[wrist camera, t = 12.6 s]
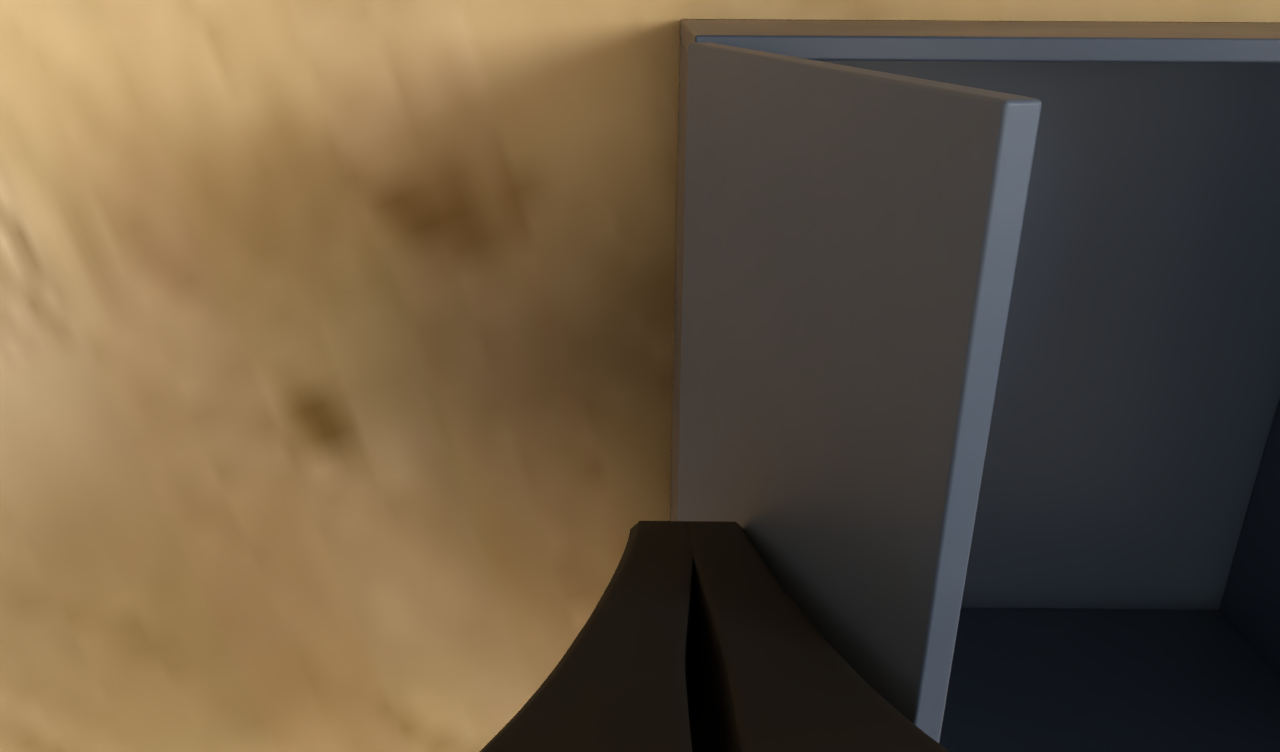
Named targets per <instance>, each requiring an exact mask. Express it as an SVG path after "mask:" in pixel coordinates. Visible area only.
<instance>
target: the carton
mask: <svg viewBox="0 0 1280 752" xmlns="http://www.w3.org/2000/svg"><path fill="white" fill-rule="evenodd" d="M691 42H711V43H717V44H722V45H728V46H734V47H740V48H746V49H752V50H757V51H763V52H769V53H775V54H781V55H787V56H792V57H798V58H804V59H810V60H816V61H822V62H827V63H833V64H839V65H845V66H851V67H857V68H862V69H868V70H874V71H880V72H886V73H891V74H897V75H903V76H909V77H915V78H921V79H926V80H932V81H938V82H944V83H950V84H956V85H961V86H967V87H973V88H979V89H985V90H991V91H996V92H1002V93H1008V94H1014V95H1020V96H1026V97H1031V98H1037V99H1039V100H1040V101H1041V103H1042V106H1041V112H1040V119H1039V125H1038V131H1037V137H1036V144H1035V150H1034V156H1033V162H1032V168H1031V175H1030V181H1029V187H1028V193H1027V200H1026V206H1025V212H1024V218H1023V224H1022V231H1021V237H1020V243H1019V249H1018V255H1017V262H1016V268H1015V274H1014V280H1013V287H1012V293H1011V299H1010V305H1009V311H1008V318H1007V324H1006V330H1005V336H1004V343H1003V349H1002V355H1001V361H1000V367H999V374H998V380H997V386H996V392H995V399H994V405H993V411H992V417H991V423H990V430H989V436H988V442H987V448H986V454H985V461H984V467H983V473H982V479H981V486H980V492H979V498H978V504H977V510H976V517H975V523H974V529H973V535H972V542H971V548H970V554H969V560H968V566H967V573H966V579H965V585H964V591H963V598H962V604H961V610H960V616H959V622H958V629H957V635H956V641H955V647H954V653H953V660H952V666H951V672H950V678H949V685H948V691H947V697H946V703H945V709H944V716H943V722H942V728H941V734H940V741H939V744H940V745H942V746H943V747H944V748H946V749H947V750H948V751H950V752H1280V23H1252V22H1087V21H923V20H758V19H681V21H680V61H679V111H678V160H677V209H676V258H675V308H674V357H673V406H672V455H671V504H670V521H677V506H678V463H679V421H680V378H681V336H682V294H683V251H684V209H685V166H686V124H687V81H688V45H689V43H691Z"/></svg>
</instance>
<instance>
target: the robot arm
mask: <svg viewBox="0 0 1280 752" xmlns="http://www.w3.org/2000/svg"><path fill="white" fill-rule="evenodd" d="M480 752H950V751H948V750H947V749H946V748H944V747H943V746H942V745H940V744H939V743H938V742H936V741H935V740H934V739H932V738H931V737H929V736H928V735H927V734H926V733H924V732H923V731H922V730H921V729H919V728H918V727H917V726H916V725H914V724H913V723H912V722H911V721H909V720H908V719H907V718H906V717H905V716H903V715H902V714H901V713H900V712H899V711H898V710H896V709H895V708H894V707H893V706H892V705H891V704H890V703H889V702H887V701H886V700H885V699H884V698H883V697H882V696H881V695H880V694H878V693H877V692H876V691H875V690H874V689H873V688H872V687H871V686H870V685H869V684H867V683H866V682H865V681H864V680H863V679H862V678H861V677H860V676H859V675H858V674H857V673H856V672H855V671H854V670H853V669H852V668H851V667H850V665H849V664H848V663H847V662H846V661H845V660H844V659H843V658H842V657H841V656H840V655H839V654H838V653H837V652H836V650H835V649H834V648H833V647H832V646H831V645H830V644H829V643H828V642H827V641H826V640H825V638H824V637H823V636H822V635H821V634H820V633H819V631H818V630H817V629H816V628H815V627H814V626H813V625H812V623H811V622H810V621H809V620H808V618H807V617H806V616H805V615H804V613H803V612H802V611H801V610H800V609H799V607H798V606H797V605H796V604H795V602H794V601H793V600H792V599H791V597H790V596H789V595H788V594H787V592H786V591H785V590H784V588H783V587H782V586H781V584H780V583H779V582H778V580H777V579H776V577H775V576H774V575H773V573H772V572H771V570H770V569H769V568H768V566H767V565H766V563H765V562H764V560H763V559H762V558H761V556H760V555H759V553H758V552H757V550H756V548H755V547H754V545H753V544H752V542H751V541H750V539H749V537H748V536H747V534H746V532H745V531H744V529H743V528H742V527H741V526H740V525H739V524H738V523H737V522H731V521H639V522H638V523H637V524H636V525H635V526H633V527H632V528H631V529H630V535H629V539H628V542H627V545H626V548H625V550H624V553H623V555H622V558H621V560H620V562H619V565H618V567H617V569H616V571H615V573H614V575H613V577H612V579H611V581H610V583H609V585H608V586H607V588H606V590H605V592H604V594H603V595H602V597H601V599H600V601H599V602H598V604H597V606H596V608H595V610H594V611H593V613H592V615H591V616H590V618H589V620H588V621H587V623H586V624H585V626H584V627H583V629H582V630H581V631H580V633H579V634H578V636H577V637H576V639H575V640H574V642H573V643H572V645H571V646H570V648H569V649H568V651H567V652H566V654H565V655H564V656H563V658H562V659H561V661H560V662H559V663H558V665H557V666H556V667H555V669H554V670H553V671H552V672H551V674H550V675H549V676H548V678H547V679H546V680H545V681H544V683H543V684H542V685H541V686H540V688H539V689H538V690H537V691H536V692H535V693H534V695H533V696H532V697H531V698H530V699H529V700H528V702H527V703H526V704H525V705H524V706H523V707H522V709H521V710H520V711H519V712H518V713H517V714H516V715H515V716H514V717H513V718H512V719H511V720H510V721H509V722H508V723H507V724H506V726H505V727H504V728H503V729H502V730H501V731H500V732H499V733H498V734H497V735H496V736H495V737H494V738H493V739H492V740H491V741H490V742H489V743H488V744H487V745H486V746H485V747H484V748H483V749H482V750H481V751H480Z"/></svg>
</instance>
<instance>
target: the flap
mask: <svg viewBox="0 0 1280 752" xmlns="http://www.w3.org/2000/svg"><path fill="white" fill-rule="evenodd" d="M1041 106H1042V103H1041V101H1040V100H1039V99H1037V98H1031V97H1026V96H1020V95H1014V94H1008V93H1002V92H996V91H991V90H985V89H979V88H973V87H967V86H961V85H956V84H950V83H944V82H938V81H932V80H926V79H921V78H915V77H909V76H903V75H897V74H891V73H886V72H880V71H874V70H868V69H862V68H857V67H851V66H845V65H839V64H833V63H827V62H822V61H816V60H810V59H804V58H798V57H792V56H787V55H781V54H775V53H769V52H763V51H757V50H752V49H746V48H740V47H734V46H728V45H722V44H717V43H711V42H691V43H689V45H688V81H687V124H686V166H685V209H684V251H683V294H682V336H681V378H680V421H679V463H678V506H677V521H731V522H737V523H738V524H739V525H740V526H741V527H742V528H743V529H744V531H745V532H746V534H747V536H748V537H749V539H750V541H751V542H752V544H753V545H754V547H755V548H756V550H757V552H758V553H759V555H760V556H761V558H762V559H763V560H764V562H765V563H766V565H767V566H768V568H769V569H770V570H771V572H772V573H773V575H774V576H775V577H776V579H777V580H778V582H779V583H780V584H781V586H782V587H783V588H784V590H785V591H786V592H787V594H788V595H789V596H790V597H791V599H792V600H793V601H794V602H795V604H796V605H797V606H798V607H799V609H800V610H801V611H802V612H803V613H804V615H805V616H806V617H807V618H808V620H809V621H810V622H811V623H812V625H813V626H814V627H815V628H816V629H817V630H818V631H819V633H820V634H821V635H822V636H823V637H824V638H825V640H826V641H827V642H828V643H829V644H830V645H831V646H832V647H833V648H834V649H835V650H836V652H837V653H838V654H839V655H840V656H841V657H842V658H843V659H844V660H845V661H846V662H847V663H848V664H849V665H850V667H851V668H852V669H853V670H854V671H855V672H856V673H857V674H858V675H859V676H860V677H861V678H862V679H863V680H864V681H865V682H866V683H867V684H869V685H870V686H871V687H872V688H873V689H874V690H875V691H876V692H877V693H878V694H880V695H881V696H882V697H883V698H884V699H885V700H886V701H887V702H889V703H890V704H891V705H892V706H893V707H894V708H895V709H896V710H898V711H899V712H900V713H901V714H902V715H903V716H905V717H906V718H907V719H908V720H909V721H911V722H912V723H913V724H914V725H916V726H917V727H918V728H919V729H921V730H922V731H923V732H924V733H926V734H927V735H928V736H929V737H931V738H932V739H934V740H935V741H936V742H938V743H939V741H940V734H941V728H942V722H943V716H944V709H945V703H946V697H947V691H948V685H949V678H950V672H951V666H952V660H953V653H954V647H955V641H956V635H957V629H958V622H959V616H960V610H961V604H962V598H963V591H964V585H965V579H966V573H967V566H968V560H969V554H970V548H971V542H972V535H973V529H974V523H975V517H976V510H977V504H978V498H979V492H980V486H981V479H982V473H983V467H984V461H985V454H986V448H987V442H988V436H989V430H990V423H991V417H992V411H993V405H994V399H995V392H996V386H997V380H998V374H999V367H1000V361H1001V355H1002V349H1003V343H1004V336H1005V330H1006V324H1007V318H1008V311H1009V305H1010V299H1011V293H1012V287H1013V280H1014V274H1015V268H1016V262H1017V255H1018V249H1019V243H1020V237H1021V231H1022V224H1023V218H1024V212H1025V206H1026V200H1027V193H1028V187H1029V181H1030V175H1031V168H1032V162H1033V156H1034V150H1035V144H1036V137H1037V131H1038V125H1039V119H1040V112H1041Z"/></svg>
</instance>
